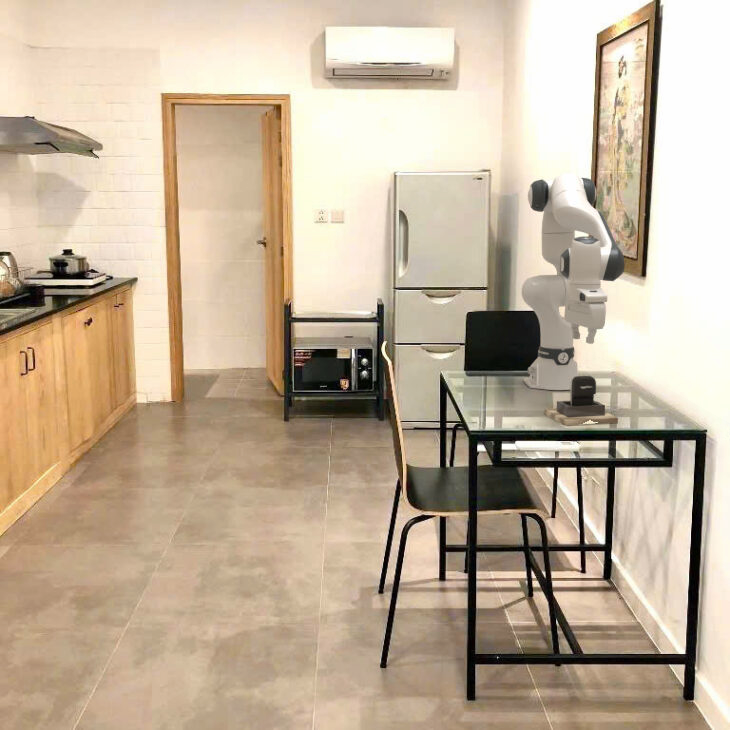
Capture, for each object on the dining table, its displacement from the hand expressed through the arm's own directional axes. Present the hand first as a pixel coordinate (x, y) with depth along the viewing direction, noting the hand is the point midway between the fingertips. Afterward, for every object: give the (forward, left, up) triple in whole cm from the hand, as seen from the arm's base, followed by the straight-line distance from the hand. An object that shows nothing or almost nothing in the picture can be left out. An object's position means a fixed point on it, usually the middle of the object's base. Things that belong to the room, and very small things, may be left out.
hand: (582, 341), depth 263 cm
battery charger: (+2, 0, -22) cm, 22 cm away
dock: (0, 0, -23) cm, 23 cm away
